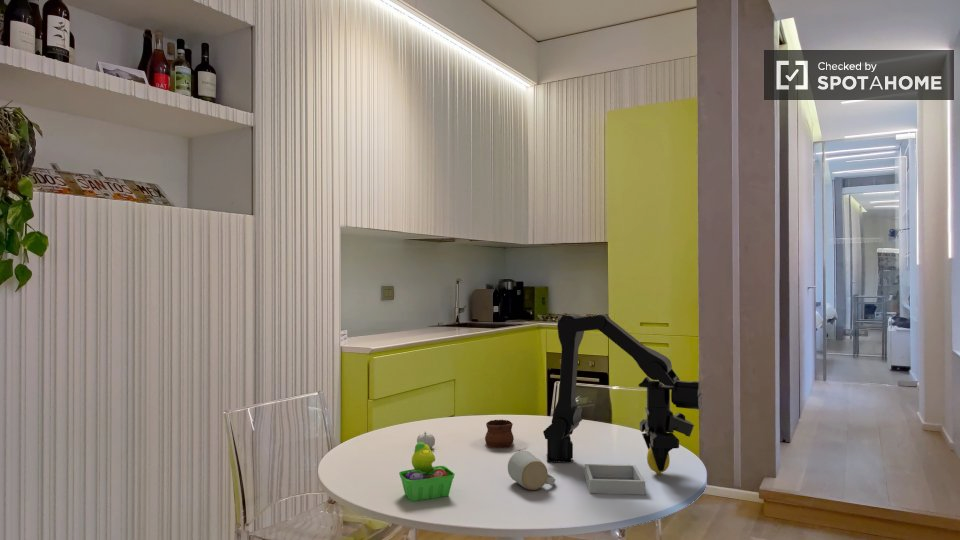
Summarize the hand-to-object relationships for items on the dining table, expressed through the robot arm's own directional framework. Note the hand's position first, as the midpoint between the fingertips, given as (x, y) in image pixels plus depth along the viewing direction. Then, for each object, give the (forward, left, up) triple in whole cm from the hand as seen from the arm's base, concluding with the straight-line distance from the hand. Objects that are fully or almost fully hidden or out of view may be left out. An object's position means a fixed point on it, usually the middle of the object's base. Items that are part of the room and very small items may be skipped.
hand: (658, 467), depth 158 cm
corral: (-12, -9, -2) cm, 16 cm away
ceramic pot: (-41, +25, -2) cm, 49 cm away
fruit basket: (-56, -19, -2) cm, 60 cm away
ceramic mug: (-32, -11, -2) cm, 34 cm away
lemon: (0, 0, -2) cm, 2 cm away
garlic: (-62, +19, -2) cm, 65 cm away
